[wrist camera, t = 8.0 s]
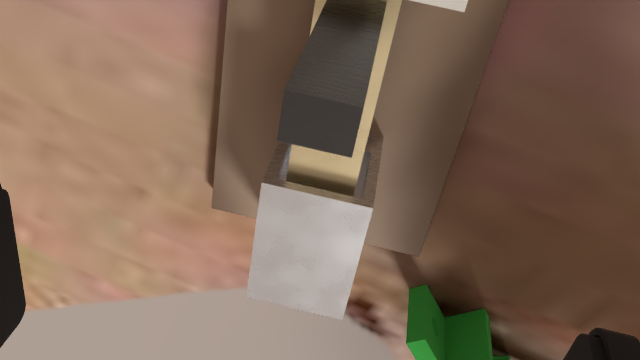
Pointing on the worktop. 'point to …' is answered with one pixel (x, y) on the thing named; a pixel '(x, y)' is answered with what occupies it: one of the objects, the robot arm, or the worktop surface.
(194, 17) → the worktop surface
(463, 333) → the pipe clamp
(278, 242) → the sleeve
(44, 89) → the worktop surface
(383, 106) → the base board
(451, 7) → the socket
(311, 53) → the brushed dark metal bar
